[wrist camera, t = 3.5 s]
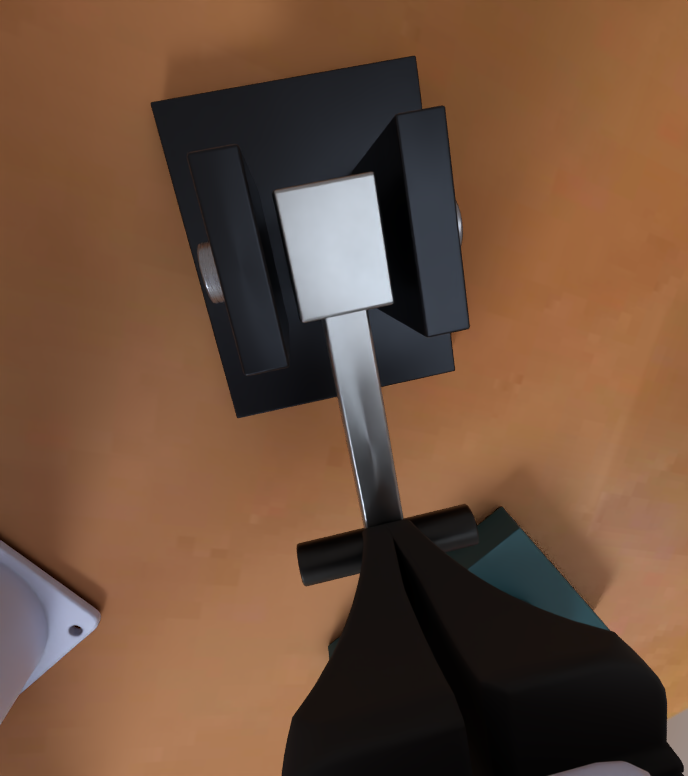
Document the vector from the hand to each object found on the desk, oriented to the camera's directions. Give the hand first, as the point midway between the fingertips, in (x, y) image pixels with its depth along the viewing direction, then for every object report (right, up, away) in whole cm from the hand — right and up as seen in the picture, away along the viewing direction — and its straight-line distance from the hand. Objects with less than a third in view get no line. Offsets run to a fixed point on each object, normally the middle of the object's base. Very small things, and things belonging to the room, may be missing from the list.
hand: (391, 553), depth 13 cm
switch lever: (-1, +5, 0) cm, 5 cm away
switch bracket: (-2, +9, +3) cm, 10 cm away
